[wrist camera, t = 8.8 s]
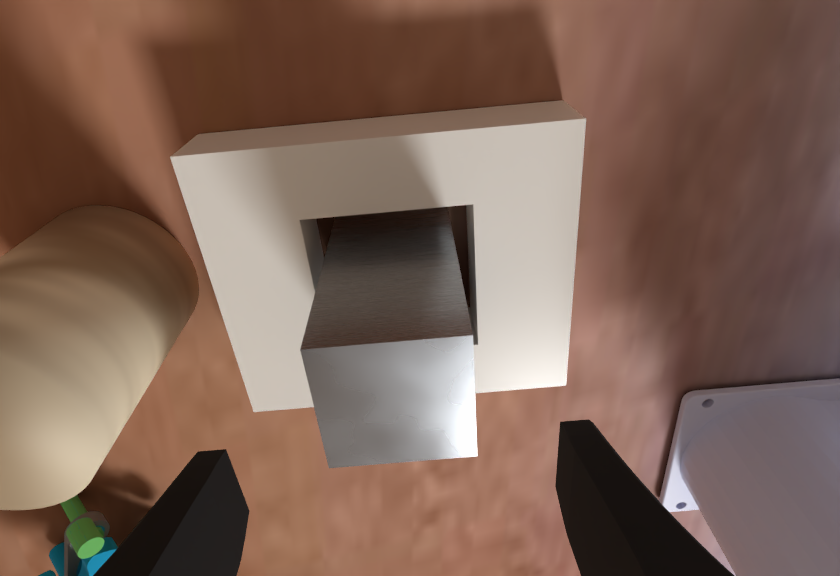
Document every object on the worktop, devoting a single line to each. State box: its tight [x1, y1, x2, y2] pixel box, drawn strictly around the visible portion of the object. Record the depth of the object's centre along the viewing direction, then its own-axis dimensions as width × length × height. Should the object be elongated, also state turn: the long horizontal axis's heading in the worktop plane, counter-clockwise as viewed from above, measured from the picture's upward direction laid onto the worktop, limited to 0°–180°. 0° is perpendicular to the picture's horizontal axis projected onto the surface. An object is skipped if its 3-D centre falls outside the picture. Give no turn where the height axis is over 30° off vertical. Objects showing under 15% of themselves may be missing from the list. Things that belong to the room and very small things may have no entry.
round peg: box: [0, 205, 199, 510], centre depth 17 cm, size 6×6×8 cm
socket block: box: [170, 100, 586, 412], centre depth 19 cm, size 12×10×2 cm
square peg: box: [300, 207, 477, 468], centre depth 17 cm, size 4×4×8 cm
